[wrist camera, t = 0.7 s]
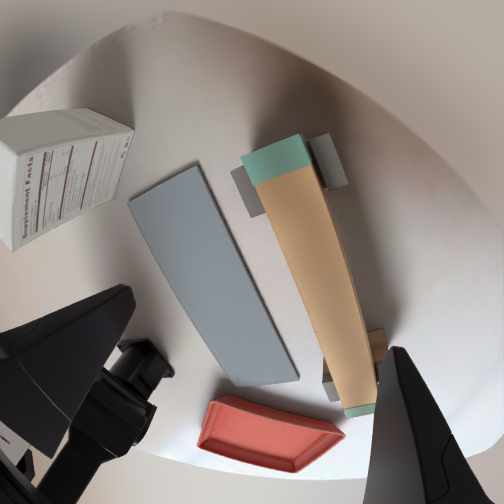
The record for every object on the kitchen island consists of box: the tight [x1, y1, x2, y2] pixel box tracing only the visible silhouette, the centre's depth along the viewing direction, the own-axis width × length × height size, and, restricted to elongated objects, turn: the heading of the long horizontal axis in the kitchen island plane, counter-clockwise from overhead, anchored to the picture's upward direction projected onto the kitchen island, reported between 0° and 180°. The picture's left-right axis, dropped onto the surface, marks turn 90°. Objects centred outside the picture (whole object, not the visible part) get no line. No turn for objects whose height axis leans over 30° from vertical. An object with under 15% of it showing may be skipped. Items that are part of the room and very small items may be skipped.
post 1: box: [231, 133, 348, 218], centre depth 17 cm, size 6×3×5 cm, turn 114°
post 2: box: [322, 328, 389, 402], centre depth 23 cm, size 6×3×5 cm, turn 114°
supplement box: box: [0, 108, 134, 252], centre depth 17 cm, size 7×7×13 cm
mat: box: [127, 165, 299, 387], centre depth 26 cm, size 8×24×1 cm, turn 24°
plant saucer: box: [197, 396, 345, 473], centre depth 34 cm, size 18×18×3 cm
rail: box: [240, 133, 378, 419], centre depth 17 cm, size 3×22×3 cm, turn 24°
